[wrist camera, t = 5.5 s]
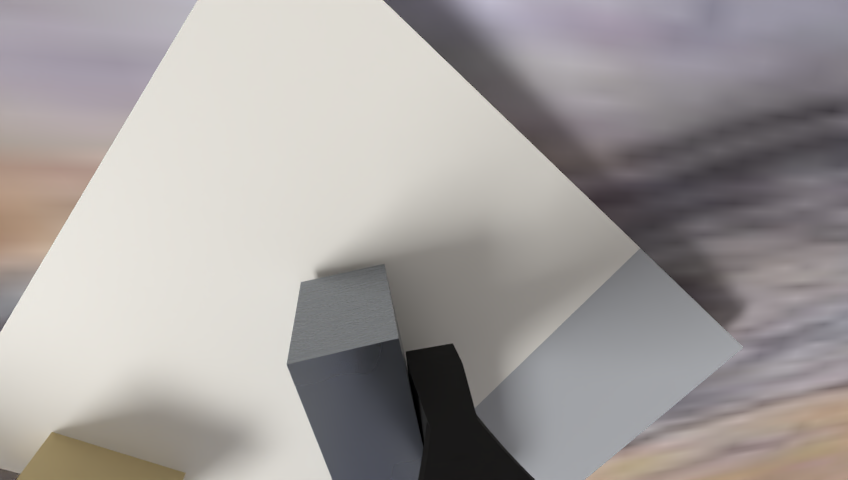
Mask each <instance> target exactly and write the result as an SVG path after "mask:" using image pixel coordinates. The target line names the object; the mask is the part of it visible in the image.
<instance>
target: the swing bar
mask: <svg viewBox="0 0 848 480" xmlns="http://www.w3.org/2000/svg"><path fill="white" fill-rule="evenodd" d="M287 367H288V370H289V372H290V375H291V377H292V380H293V382H294V385H295V387H296V390H297V392H298V395H299V397H300V400H301V402H302V405H303V407H304V410H305V412H306V415H307V417H308V420H309V422H310V425H311V427H312V430H313V433H314V435H315V438H316V440H317V443H318V445H319V448H320V450H321V453H322V455H323V458H324V460H325V463H326V465H327V468H328V470H329V473H330V475H331V478H332V480H418V477H419V471H420V466H421V460H422V453H423V443H422V438H421V434H420V429H419V424H418V419H417V415H416V410H415V405H414V400H413V395H412V390H411V385H410V380H409V375H408V368H407V363H406V359H405V354H404V350H403V345H402V341H401V336H400V332H399V327H398V323H397V318H396V314H395V309H394V305H393V300H392V295H391V291H390V286H389V282H388V277H387V273H386V268H385V264H382V265H377V266H372V267H368V268H363V269H359V270H354V271H349V272H345V273H340V274H336V275H331V276H326V277H322V278H317V279H313V280H308V281H304V282H301V284H300V290H299V296H298V302H297V307H296V313H295V319H294V325H293V330H292V336H291V342H290V348H289V353H288V359H287Z"/></svg>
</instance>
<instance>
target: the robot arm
mask: <svg viewBox="0 0 848 480" xmlns="http://www.w3.org/2000/svg"><path fill="white" fill-rule="evenodd" d="M406 360H407V368H408V375H409V380H410V385H411V390H412V395H413V400H414V405H415V410H416V415H417V419H418V424H419V429H420V434H421V438H422V443H423V453H422V460H421V466H420V471H419V477H418V480H535V479H534V478H533V477H532V476H531V475H530V474H529V473H528V472H527V471H526V470H525V469H524V468H523V467H522V466H521V465H520V464H519V463H518V462H517V461H516V460H515V458H514V457H513V456H512V455H511V454H510V453H509V452H508V451H507V450H506V449H505V448H504V446H503V445H502V444H501V443H500V442H499V441H498V440H497V438H496V437H495V436H494V435H493V434H492V433H491V431H490V430H489V429H488V428H487V427H486V426H485V424H484V423H483V422H482V421H481V419H480V418H479V417H478V416H477V414H476V411H475V408H474V404H473V400H472V396H471V392H470V389H469V385H468V381H467V378H466V374H465V370H464V367H463V363H462V361H461V359H460V357H459V355H458V353H457V351H456V349H455V347H454V345H453V343H451V344H445V345H440V346H434V347H428V348H422V349H417V350H411V351H406Z"/></svg>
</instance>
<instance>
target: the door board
mask: <svg viewBox="0 0 848 480" xmlns="http://www.w3.org/2000/svg"><path fill="white" fill-rule="evenodd" d="M382 264H385V268H386V273H387V277H388V282H389V286H390V291H391V295H392V300H393V305H394V309H395V314H396V318H397V323H398V327H399V332H400V336H401V341H402V345H403V350H404V354H405V359H406V351H411V350H417V349H422V348H428V347H434V346H440V345H445V344H451V343H453V345H454V347H455V349H456V351H457V353H458V355H459V357H460V359H461V361H462V363H463V367H464V370H465V374H466V378H467V381H468V385H469V389H470V392H471V396H472V400H473V404H474V408H475V411H476V414H477V416H478V417H479V418H480V419H481V421H482V422H483V423H484V424H485V426H486V427H487V428H488V429H489V430H490V431H491V433H492V434H493V435H494V436H495V437H496V438H497V440H498V441H499V442H500V443H501V444H502V445H503V446H504V448H505V449H506V450H507V451H508V452H509V453H510V454H511V455H512V456H513V457H514V458H515V460H516V461H517V462H518V463H519V464H520V465H521V466H522V467H523V468H524V469H525V470H526V471H527V472H528V473H529V474H530V475H531V476H532V477H533V478H534V479H535V480H585V479H586V478H587V477H589V476H590V475H591V474H592V473H593V472H595V471H596V470H597V469H598V468H599V467H601V466H602V465H603V464H604V463H605V462H607V461H608V460H609V459H610V458H611V457H613V456H614V455H615V454H616V453H617V452H619V451H620V450H621V449H622V448H623V447H625V446H626V445H627V444H628V443H629V442H631V441H632V440H633V439H634V438H635V437H637V436H638V435H639V434H640V433H641V432H643V431H644V430H645V429H646V428H647V427H649V426H650V425H651V424H652V423H653V422H655V421H656V420H657V419H658V418H659V417H661V416H662V415H663V414H664V413H665V412H667V411H668V410H669V409H670V408H671V407H673V406H674V405H675V404H676V403H677V402H679V401H680V400H681V399H682V398H683V397H685V396H686V395H687V394H688V393H689V392H691V391H692V390H693V389H694V388H695V387H697V386H698V385H699V384H700V383H701V382H703V381H704V380H705V379H706V378H707V377H709V376H710V375H711V374H712V373H713V372H715V371H716V370H717V369H718V368H719V367H721V366H722V365H723V364H724V363H725V362H727V361H728V360H729V359H730V358H731V357H733V356H734V355H735V354H736V353H737V352H739V351H740V350H741V349H742V348H743V347H742V346H741V345H740V344H739V343H738V342H737V341H736V340H735V339H734V338H733V337H732V336H731V335H730V334H729V333H728V332H727V331H726V330H725V329H724V328H723V327H722V326H721V325H720V324H719V323H718V322H716V321H715V320H714V319H713V318H712V317H711V316H710V315H709V314H708V313H707V312H706V311H705V310H704V309H703V308H702V307H701V306H700V305H699V304H698V303H697V302H696V301H695V300H694V299H693V298H692V297H691V296H689V295H688V294H687V293H686V292H685V291H684V290H683V289H682V288H681V287H680V286H679V285H678V284H677V283H676V282H675V281H674V280H673V279H672V278H671V277H670V276H669V275H668V274H667V273H666V272H665V271H664V270H663V269H661V268H660V267H659V266H658V265H657V264H656V263H655V262H654V261H653V260H652V259H651V258H650V257H649V256H648V255H647V254H646V253H645V252H644V251H643V250H642V249H641V248H640V247H639V246H638V245H637V244H636V243H634V242H633V241H632V240H631V239H630V238H629V237H628V236H627V235H626V234H625V233H624V232H623V231H622V230H621V229H620V228H619V227H618V226H617V225H616V224H615V223H614V222H613V221H612V220H611V219H610V218H609V217H608V216H606V215H605V214H604V213H603V212H602V211H601V210H600V209H599V208H598V207H597V206H596V205H595V204H594V203H593V202H592V201H591V200H590V199H589V198H588V197H587V196H586V195H585V194H584V193H583V192H582V191H581V190H579V189H578V188H577V187H576V186H575V185H574V184H573V183H572V182H571V181H570V180H569V179H568V178H567V177H566V176H565V175H564V174H563V173H562V172H561V171H560V170H559V169H558V168H557V167H556V166H555V165H554V164H553V163H551V162H550V161H549V160H548V159H547V158H546V157H545V156H544V155H543V154H542V153H541V152H540V151H539V150H538V149H537V148H536V147H535V146H534V145H533V144H532V143H531V142H530V141H529V140H528V139H527V138H526V137H524V136H523V135H522V134H521V133H520V132H519V131H518V130H517V129H516V128H515V127H514V126H513V125H512V124H511V123H510V122H509V121H508V120H507V119H506V118H505V117H504V116H503V115H502V114H501V113H500V112H499V111H498V110H496V109H495V108H494V107H493V106H492V105H491V104H490V103H489V102H488V101H487V100H486V99H485V98H484V97H483V96H482V95H481V94H480V93H479V92H478V91H477V90H476V89H475V88H474V87H473V86H472V85H471V84H469V83H468V82H467V81H466V80H465V79H464V78H463V77H462V76H461V75H460V74H459V73H458V72H457V71H456V70H455V69H454V68H453V67H452V66H451V65H450V64H449V63H448V62H447V61H446V60H445V59H444V58H442V57H441V56H440V55H439V54H438V53H437V52H436V51H435V50H434V49H433V48H432V47H431V46H430V45H429V44H428V43H427V42H426V41H425V40H424V39H423V38H422V37H421V36H420V35H419V34H418V33H417V32H416V31H414V30H413V29H412V28H411V27H410V26H409V25H408V24H407V23H406V22H405V21H404V20H403V19H402V18H401V17H400V16H399V15H398V14H397V13H396V12H395V11H394V10H393V9H392V8H391V7H390V6H389V5H387V4H386V3H385V2H384V1H383V0H197V2H196V4H195V6H194V7H193V9H192V11H191V12H190V14H189V16H188V17H187V19H186V21H185V22H184V24H183V26H182V27H181V29H180V31H179V32H178V34H177V36H176V38H175V39H174V41H173V43H172V44H171V46H170V48H169V49H168V51H167V53H166V54H165V56H164V58H163V59H162V61H161V63H160V64H159V66H158V68H157V70H156V71H155V73H154V75H153V76H152V78H151V80H150V81H149V83H148V85H147V86H146V88H145V90H144V91H143V93H142V95H141V96H140V98H139V100H138V102H137V103H136V105H135V107H134V108H133V110H132V112H131V113H130V115H129V117H128V118H127V120H126V122H125V123H124V125H123V127H122V128H121V130H120V132H119V134H118V135H117V137H116V139H115V140H114V142H113V144H112V145H111V147H110V149H109V150H108V152H107V154H106V155H105V157H104V159H103V160H102V162H101V164H100V165H99V167H98V169H97V171H96V172H95V174H94V176H93V177H92V179H91V181H90V182H89V184H88V186H87V187H86V189H85V191H84V192H83V194H82V196H81V197H80V199H79V201H78V203H77V204H76V206H75V208H74V209H73V211H72V213H71V214H70V216H69V218H68V219H67V221H66V223H65V224H64V226H63V228H62V229H61V231H60V233H59V235H58V236H57V238H56V240H55V241H54V243H53V245H52V246H51V248H50V250H49V251H48V253H47V255H46V256H45V258H44V260H43V261H42V263H41V265H40V267H39V268H38V270H37V272H36V273H35V275H34V277H33V278H32V280H31V282H30V283H29V285H28V287H27V288H26V290H25V292H24V293H23V295H22V297H21V299H20V300H19V302H18V304H17V305H16V307H15V309H14V310H13V312H12V314H11V315H10V317H9V319H8V320H7V322H6V324H5V325H4V327H3V329H2V331H1V332H0V469H4V470H8V471H11V472H15V473H19V474H20V475H19V477H18V478H17V479H16V480H332V478H331V475H330V473H329V470H328V468H327V465H326V463H325V460H324V458H323V455H322V453H321V450H320V448H319V445H318V443H317V440H316V438H315V435H314V433H313V430H312V427H311V425H310V422H309V420H308V417H307V415H306V412H305V410H304V407H303V405H302V402H301V400H300V397H299V395H298V392H297V390H296V387H295V385H294V382H293V380H292V377H291V375H290V372H289V370H288V367H287V359H288V353H289V348H290V342H291V336H292V330H293V325H294V319H295V313H296V307H297V302H298V296H299V290H300V284H301V282H304V281H308V280H313V279H317V278H322V277H326V276H331V275H336V274H340V273H345V272H349V271H354V270H359V269H363V268H368V267H372V266H377V265H382ZM406 363H407V360H406Z"/></svg>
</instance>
